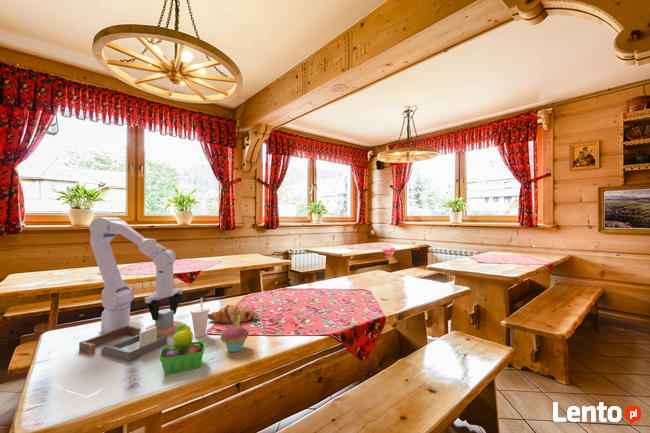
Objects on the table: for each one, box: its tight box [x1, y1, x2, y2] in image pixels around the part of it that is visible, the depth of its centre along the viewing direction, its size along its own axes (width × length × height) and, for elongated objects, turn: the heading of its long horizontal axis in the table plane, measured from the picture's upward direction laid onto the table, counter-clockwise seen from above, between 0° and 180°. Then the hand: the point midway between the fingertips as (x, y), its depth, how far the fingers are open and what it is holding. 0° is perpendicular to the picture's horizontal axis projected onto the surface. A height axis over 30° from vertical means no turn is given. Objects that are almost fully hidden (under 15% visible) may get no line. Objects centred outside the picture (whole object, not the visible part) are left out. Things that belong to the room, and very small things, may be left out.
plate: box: [144, 320, 184, 336], centre depth 109 cm, size 13×13×1 cm
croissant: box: [208, 304, 260, 324], centre depth 119 cm, size 21×10×8 cm, turn 98°
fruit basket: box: [158, 323, 205, 375], centre depth 82 cm, size 11×9×11 cm
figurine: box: [230, 318, 237, 327], centre depth 105 cm, size 5×4×6 cm
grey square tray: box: [101, 327, 168, 362], centre depth 93 cm, size 13×13×7 cm
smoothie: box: [190, 297, 210, 338], centre depth 103 cm, size 6×6×14 cm
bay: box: [78, 325, 141, 355], centre depth 97 cm, size 6×16×3 cm, turn 158°
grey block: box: [154, 308, 175, 330], centre depth 109 cm, size 4×4×6 cm
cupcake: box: [220, 314, 249, 353], centre depth 93 cm, size 9×8×12 cm
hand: (164, 316), depth 109 cm, fingers open, 7 cm apart
